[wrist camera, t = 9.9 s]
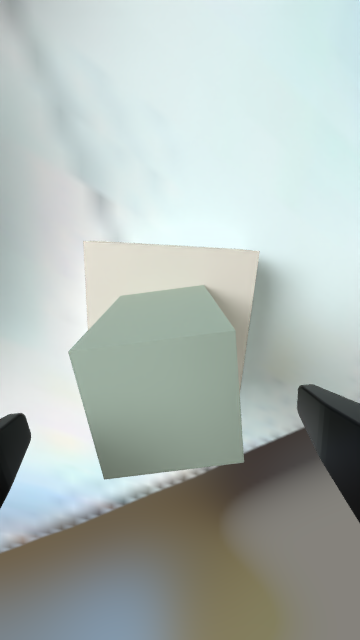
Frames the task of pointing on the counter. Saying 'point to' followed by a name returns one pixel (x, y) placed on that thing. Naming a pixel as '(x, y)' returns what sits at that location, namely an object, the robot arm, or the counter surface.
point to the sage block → (161, 384)
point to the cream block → (172, 278)
